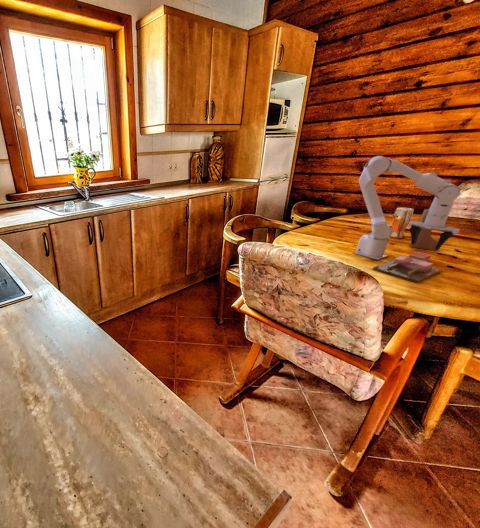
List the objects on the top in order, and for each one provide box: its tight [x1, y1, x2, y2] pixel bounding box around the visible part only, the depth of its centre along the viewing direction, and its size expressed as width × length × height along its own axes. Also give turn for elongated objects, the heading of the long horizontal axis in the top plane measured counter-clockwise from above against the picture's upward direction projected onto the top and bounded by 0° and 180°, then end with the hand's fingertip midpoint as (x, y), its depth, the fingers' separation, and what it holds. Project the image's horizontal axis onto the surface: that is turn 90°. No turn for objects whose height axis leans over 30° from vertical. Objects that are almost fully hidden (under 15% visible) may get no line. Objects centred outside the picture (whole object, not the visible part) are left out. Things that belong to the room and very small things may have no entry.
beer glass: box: [389, 206, 415, 239], centre depth 146 cm, size 7×7×15 cm
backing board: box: [373, 255, 441, 284], centre depth 112 cm, size 14×18×4 cm
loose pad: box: [408, 251, 432, 262], centre depth 119 cm, size 4×7×3 cm, turn 115°
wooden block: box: [410, 208, 440, 252], centre depth 129 cm, size 9×4×18 cm, turn 49°
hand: (424, 246), depth 117 cm, fingers open, 7 cm apart
